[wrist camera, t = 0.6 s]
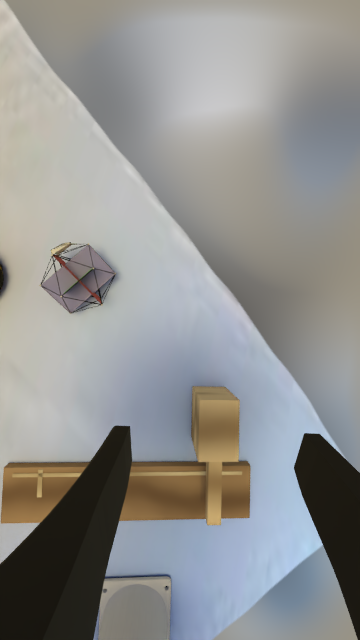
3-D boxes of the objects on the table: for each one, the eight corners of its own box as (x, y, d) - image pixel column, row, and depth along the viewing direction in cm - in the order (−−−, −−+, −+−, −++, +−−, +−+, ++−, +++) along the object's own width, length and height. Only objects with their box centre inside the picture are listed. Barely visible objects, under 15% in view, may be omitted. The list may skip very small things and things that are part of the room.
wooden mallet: (222, 494, 31) (237, 534, 25) (189, 495, 30) (196, 535, 24) (224, 386, 31) (239, 400, 25) (192, 386, 31) (199, 400, 25)
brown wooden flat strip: (246, 511, 31) (249, 518, 30) (6, 516, 29) (0, 524, 28) (247, 461, 31) (250, 466, 30) (9, 463, 29) (3, 468, 28)
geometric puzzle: (136, 295, 29) (92, 245, 22) (91, 335, 28) (33, 297, 22) (110, 267, 33) (67, 219, 27) (70, 302, 32) (16, 262, 26)
